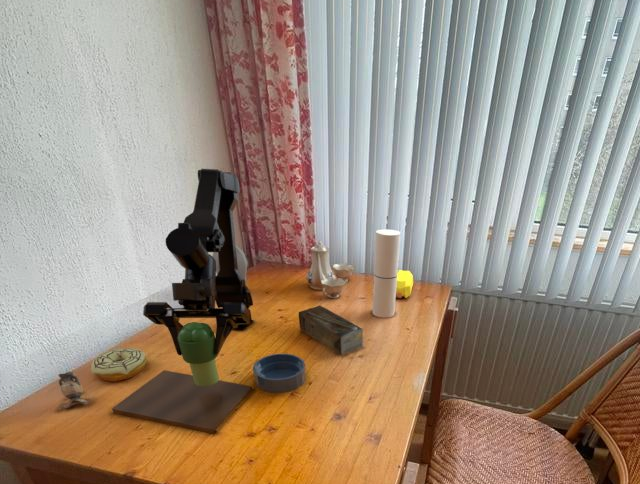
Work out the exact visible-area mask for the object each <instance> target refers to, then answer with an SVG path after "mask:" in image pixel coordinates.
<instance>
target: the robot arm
mask: <svg viewBox="0 0 640 484" xmlns="http://www.w3.org/2000/svg"><path fill="white" fill-rule="evenodd" d="M197 180H198V182H197V190H196V195H195V201H194V207H193V211H192V212H191V213H190V214H188V215H187V216H186V217H184V220H183V222H178V223H177V228H174V229H172V230H171V231H170V232H169V233H168V235H167V236H166V237H165V246H166V248H167V250H168V251H169V252H170V253H171V255H172V256H173V257H174V259H175V260H176V262H177V263H178V264H179V265H180V267H182V268H183V269H184V278H183V279H182V281H181V282H171V290H172V300H173V301H178V302H177V303H178V304H179V306H183V307H173V306H171V305H170V304H169V303H168V301H167V302H166V301H148V302H147V303H145V305H144V306H143V312H142V315H143V317H145V318H147V319H148V320H149V321H151V322H152V323H153V324H155V325H159V326H161V325H162V326H165V327H166V328H167V329H168V331H169V334H170V336H171V339H172V342H173V344H174V348H175V351H176V354H177V355H178V356H182V353H181V350H180V346H179V342H178V339H177V337H178V334H179V332H180V330H182V328H183V326H184V325H183V324H182V323H180V319H215V323H216V328H215V354H216V355H218V356H219V354H220V352H221V351H222V347H223V346H224V344H225V342H226V341H227V338H228V337H229V336H230V334H231V333H232V331H233V330H236V331H245V330H246V329H247V328H249V326H251V325H252V324H253V323H254V320H253V319H252V313H251V310H250V307H251V306H254V302H253V297H252V294H251V292H250V290H249V287H248V286H247V284H246V285H245V279H244V278H243V276H242V275H241V274H240V272H239V271H238V266H237V255H236V246H237V244H236V235H235V223H234V221H235V220H234V210H235V208H236V206H237V204H238V202H239V194H240V191H241V190H240V189H241V188H240V181H239V178H238V176H236V175H234V173H233V172H230V171H223V170H219V168H218V169H217V168H201V169H198V170H197ZM214 252H218V256H219V266H220V270H219V272H218V274H217V273H216V260H215V259H214V258H213V255H211V254H210V253H214ZM216 306H217V307H216Z"/></svg>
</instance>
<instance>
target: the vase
mask: <svg viewBox="0 0 640 484" xmlns="http://www.w3.org/2000/svg"><path fill="white" fill-rule="evenodd" d="M78 373H79V375H80V374H81V372H78ZM58 377H59V378H60V379H59V380H58V385H59V388H60V389H59V390H60V392H61V394H62V396H64V398H66V399H68V400H69V403H68V404H62V405H60V406H59V407H58V410H59V411H61V410H62V409H65V408H66V409H67V408H69V409H70V408H71V407H72V405H75V404H77V403H81V404H82V405H84V406H86V405H88V404H89V403H90V400H88V398H86V399H85V398H82V397H81V396H82V394H83V390H84V389H83V386H82V384H81V383H80V381H79V378H78V376H76V375H74V372H73V371H67V372H65V373H59V374H58Z"/></svg>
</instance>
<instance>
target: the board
mask: <svg viewBox="0 0 640 484" xmlns="http://www.w3.org/2000/svg"><path fill="white" fill-rule="evenodd" d="M253 389H254V387H253V386H252V385H247V384H241V383H238V382H237V383H236V382H230V381H225V380H220V379H219V380H218V382H216V383H215V384H213V385H210V386H198V385H196V384H195V382H194V378H193V375H192V374H186V373H181V372H177V371H171V370H165V369H163V370H162V371H161V372H159V373H158V374H157V375H155V376H154V377H153V378H151V379H150V380H148V381H147V382H146V383H144V384H143V385H141V386H140V387H139V388H137V389H136V390H135V391H133V392H132V393H131V394H129V395H128V396H126V397H125V398H124V399H122V401H120V402H118V403H117V404H115V405H114V406H113V407H112V408H111V411H112V413H113V414H115V415H120V416H126V417H129V418H135V419H139V420H144V421H150V422H153V423H154V422H155V423H158V424H164V425H167V426H172V427H173V426H174V427H177V428H182V429H183V428H184V429H188V430H191V431H192V430H193V431H198V432H202V433H208V434H212V435H215V434H216V432H217V429H218V428H219V427H220V426H221V425H222V423H224V422H225V420H227V418H228V417H229V416H230V415H231V414H232V413H233V412H234V410H235V409H236V408H237V407H238V406H239V405H240V404H241V403H242V402H243V401H244V399H246V397H247V396H248V395H249V394H250V393H251V392H252V390H253Z"/></svg>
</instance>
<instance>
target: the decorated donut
mask: <svg viewBox="0 0 640 484" xmlns="http://www.w3.org/2000/svg"><path fill="white" fill-rule="evenodd" d="M147 361H148V358H147V355H146V353H145V352H144V350H141V349H139V348H134V347H121V348H120V347H119V348H113V349H109V350H107V351H104V352H102V353H100V354H97V356H96V357H95V358H94V359H93V360H92V362H91V366H90V372H91V374H93V375H94V376H95V375H96V376H97V377H98V378H99V379H101V380H103V381H107V382H114V383H115V382H118V381H123V380H127V379H129V378H132V377H134V376H136V375H137V374H138V373H140V372H142V371H143V370H144V369H145V368H146V365H147Z"/></svg>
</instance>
